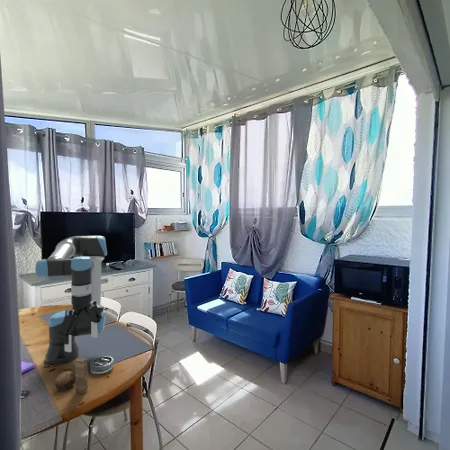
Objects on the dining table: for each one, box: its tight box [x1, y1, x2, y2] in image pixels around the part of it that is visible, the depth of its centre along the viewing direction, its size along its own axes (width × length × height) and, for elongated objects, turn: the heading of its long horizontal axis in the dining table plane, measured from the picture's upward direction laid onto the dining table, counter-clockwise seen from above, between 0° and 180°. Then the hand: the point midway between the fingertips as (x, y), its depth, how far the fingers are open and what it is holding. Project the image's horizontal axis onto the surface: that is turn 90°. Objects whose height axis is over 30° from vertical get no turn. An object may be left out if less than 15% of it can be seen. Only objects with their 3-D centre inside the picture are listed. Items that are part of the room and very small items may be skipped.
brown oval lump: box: [54, 370, 75, 391], centre depth 121 cm, size 8×8×6 cm
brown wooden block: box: [74, 357, 88, 395], centre depth 117 cm, size 2×4×14 cm, turn 71°
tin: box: [89, 355, 115, 375], centre depth 135 cm, size 10×10×4 cm
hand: (81, 343), depth 117 cm, fingers open, 13 cm apart
